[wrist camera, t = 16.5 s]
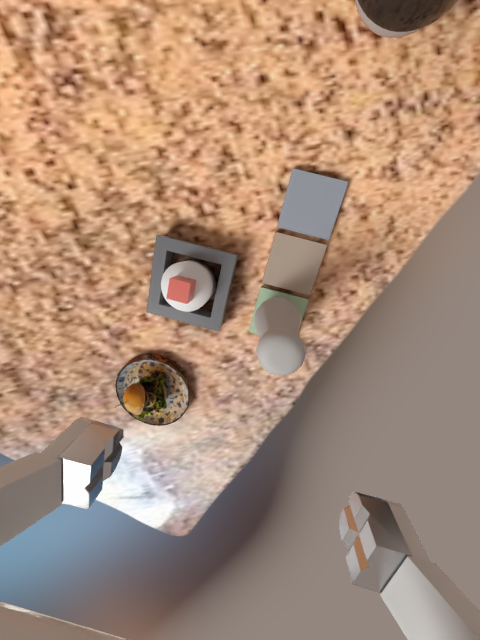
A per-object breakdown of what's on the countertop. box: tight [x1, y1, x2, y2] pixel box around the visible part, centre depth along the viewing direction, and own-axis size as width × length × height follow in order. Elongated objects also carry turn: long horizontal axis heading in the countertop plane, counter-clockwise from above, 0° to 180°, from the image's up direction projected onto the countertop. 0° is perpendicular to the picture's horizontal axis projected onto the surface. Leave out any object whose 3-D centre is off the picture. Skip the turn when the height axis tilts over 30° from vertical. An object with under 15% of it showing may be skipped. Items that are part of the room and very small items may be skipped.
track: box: [249, 168, 348, 334], centre depth 32 cm, size 20×6×1 cm, turn 166°
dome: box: [161, 260, 216, 312], centre depth 31 cm, size 6×6×6 cm
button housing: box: [147, 235, 239, 331], centre depth 33 cm, size 10×10×2 cm
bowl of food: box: [116, 354, 189, 426], centre depth 37 cm, size 12×12×8 cm
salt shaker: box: [254, 298, 305, 376], centre depth 28 cm, size 6×6×13 cm
